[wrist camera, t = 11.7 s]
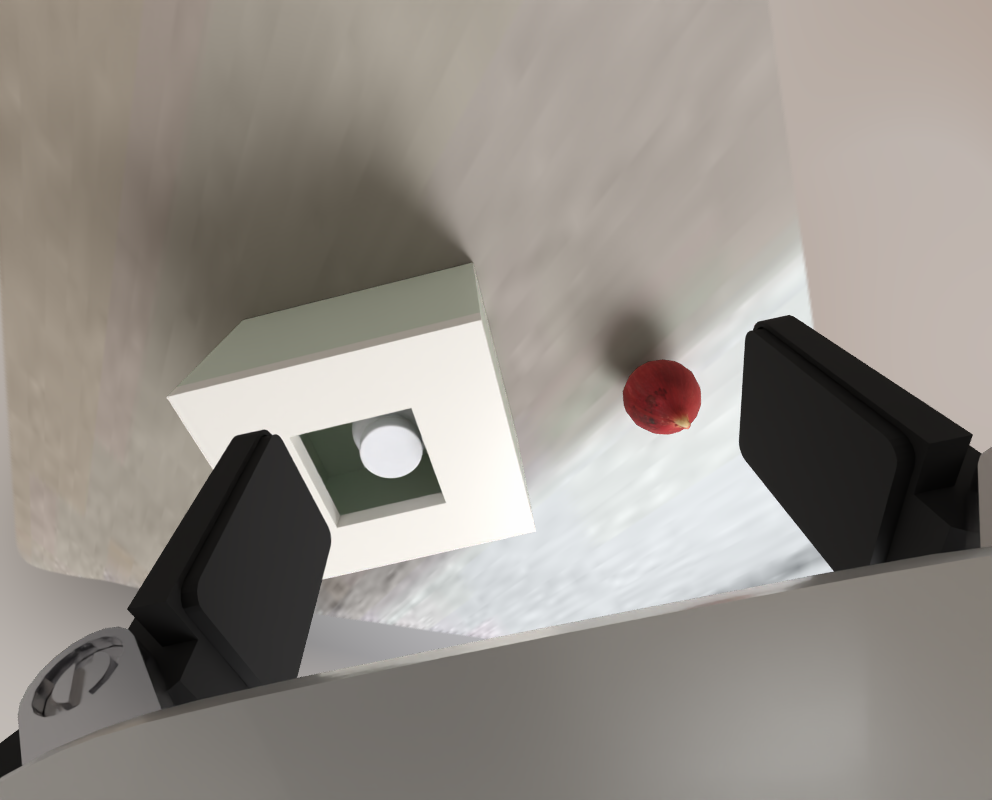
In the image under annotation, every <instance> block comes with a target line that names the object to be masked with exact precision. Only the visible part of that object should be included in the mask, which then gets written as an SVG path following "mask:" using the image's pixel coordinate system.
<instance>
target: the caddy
mask: <svg viewBox="0 0 992 800" xmlns="http://www.w3.org/2000/svg"><path fill="white" fill-rule="evenodd" d="M167 399H168V400H169V402H170V403H171V405H172V406H173V408H174V410H175V411H176V413H177V414H178V416H179V417H180V419H181V420H182V422H183V424H184V425H185V427H186V428H187V430H188V431H189V433H190V434H191V436H192V438H193V439H194V441H195V442H196V444H197V445H198V447H199V448H200V450H201V452H202V453H203V455H204V456H205V458H206V459H207V461H208V463H209V464H210V466H211V467H212V469H214V468H215V466H216V464H217V463H218V461H219V460H220V458H221V456H222V455H223V453H224V452H225V450H226V448H227V447H228V445H229V443H230V442H231V440H232V439H233V438H234V437H235V436H237V435H241V434H245V433H250V432H254V431H259V430H264V429H265V430H268V431H269V432H270V433H271V434H272V435H274V434H277V435H279V436H280V437H281V439H282V440H283V442H284V444H285V446H286V447H287V449H288V451H289V453H290V455H291V457H292V459H293V461H294V463H295V465H296V466H297V468H298V470H299V472H300V474H301V476H302V478H303V480H304V482H305V483H306V485H307V487H308V489H309V491H310V493H311V495H312V497H313V499H314V500H315V502H316V504H317V506H318V508H319V510H320V512H321V514H322V516H323V518H324V519H325V521H326V523H327V525H328V527H329V530H330V533H331V547H330V551H329V555H328V559H327V563H326V567H325V571H324V575H323V578H322V579H327V578H331V577H336V576H340V575H345V574H349V573H354V572H358V571H362V570H367V569H371V568H376V567H380V566H385V565H389V564H394V563H398V562H403V561H407V560H411V559H416V558H420V557H425V556H429V555H434V554H438V553H443V552H447V551H451V550H456V549H460V548H465V547H469V546H474V545H478V544H483V543H487V542H492V541H496V540H500V539H505V538H509V537H514V536H518V535H523V534H527V533H532V532H536V529H535V524H534V519H533V514H532V509H531V504H530V499H529V494H528V489H527V484H526V480H525V475H524V470H523V465H522V460H521V455H520V450H519V445H518V440H517V435H516V431H515V427H514V423H513V419H512V415H511V411H510V407H509V403H508V399H507V395H506V391H505V387H504V383H503V379H502V375H501V372H500V368H499V364H498V360H497V356H496V352H495V348H494V344H493V340H492V336H491V332H490V328H489V324H488V320H487V316H486V312H485V308H484V304H483V300H482V296H481V292H480V288H479V284H478V280H477V276H476V272H475V268H474V264H473V263H469V264H465V265H461V266H457V267H453V268H449V269H445V270H441V271H437V272H433V273H429V274H425V275H421V276H417V277H413V278H409V279H405V280H401V281H397V282H393V283H389V284H385V285H381V286H377V287H373V288H369V289H365V290H361V291H357V292H353V293H349V294H345V295H341V296H337V297H333V298H329V299H325V300H321V301H317V302H313V303H309V304H305V305H301V306H297V307H293V308H289V309H285V310H281V311H277V312H273V313H269V314H265V315H261V316H257V317H254V318H250V319H246V320H243V321H242V322H241V323H240V324H239V325H238V326H237V327H236V328H235V329H234V330H233V331H232V332H231V333H230V334H229V335H228V336H227V337H226V338H225V339H224V340H223V341H222V342H221V343H220V344H219V345H218V346H217V347H216V348H215V349H214V350H213V351H212V352H211V353H210V354H209V355H208V356H207V357H206V358H205V359H204V360H203V361H202V362H201V363H200V364H199V365H198V366H197V367H196V368H195V369H194V370H193V371H192V372H191V373H190V374H189V375H188V376H187V377H186V378H185V379H184V380H183V381H182V382H181V383H180V384H179V385H178V386H177V387H176V388H175V389H174V390H173V391H172V392H171V393H170V394H169V395H168V396H167ZM409 408H412V411H413V414H414V417H415V419H416V422H417V425H418V428H419V430H420V433H421V436H422V438H423V441H424V444H425V449H424V450H423V453H422V458H421V460H420V462H419V464H418V466H417V467H416V468H415V469H414V470H413V471H411V472H410V473H408V474H406V475H404V476H401V477H397V478H384V477H380V476H377V475H375V474H373V473H372V472H370V471H369V470H368V469H367V468H366V467H365V466H364V464H363V463H362V461H361V458H360V450H359V449H358V447H357V446H356V444H355V442H354V439H353V435H352V422H355V421H359V420H363V419H367V418H371V417H376V416H380V415H384V414H388V413H392V412H397V411H401V410H405V409H409Z"/></svg>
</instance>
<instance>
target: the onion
mask: <svg viewBox="0 0 992 800" xmlns="http://www.w3.org/2000/svg"><path fill="white" fill-rule="evenodd" d="M623 401H624V407H625V410H626V412H627V413H628V414H629V416H630V417H631V418H632V420H633V421H634V422H635V423H636V425H638V426H640V427H641V428H643V429H646V430H648V431H650V432H652V433H655V434H672V433H676V432H680V431H681V430H683V429H689V428H690V426H691V423H692V422H693V420H694V419H695V418H696V416H697V414H698V411H699V409H700V406H701V391H700V387H699V385H698V383H697V381H696V379H695V377H694V375H693V373H692V372H691V371H690V370H688V369H687V368H685V367H684V366H683V365H681V364H679V363H677V362H675V361H669V360H656V361H649V362H647V363H645V364H643V365H641V366H639V367H638V368H637V369H636V370H635V371H634V372H633V373H632V374H631V375H630V376H629V378H628V380H627V383H626V385H625V387H624V390H623Z"/></svg>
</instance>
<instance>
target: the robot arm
mask: <svg viewBox="0 0 992 800" xmlns="http://www.w3.org/2000/svg"><path fill="white" fill-rule="evenodd" d="M972 436H973V435H972V434H971V433H970V432H968V431H967V430H965V429H964V428H962V427H960V426H959V425H957V424H956V423H954V422H953V421H951V420H950V419H948V418H947V417H945V416H944V415H942V414H941V413H939V412H938V411H936V410H934V409H933V408H932V407H930V406H929V405H927V404H926V403H924V402H923V401H921V400H920V399H918V398H917V397H915V396H913V395H912V394H910V393H909V392H907V391H906V390H904V389H903V388H901V387H900V386H898V385H897V384H895V383H894V382H892V381H891V380H889V379H888V378H886V377H885V376H883V375H882V374H880V373H879V372H877V371H876V370H874V369H872V368H871V367H869V366H868V365H866V364H865V363H863V362H862V361H860V360H859V359H857V358H856V357H854V356H853V355H851V354H850V353H848V352H846V351H845V350H843V349H842V348H840V347H839V346H838V345H836V344H834V343H833V342H831V341H830V340H828V339H827V338H825V337H824V336H822V335H821V334H819V333H818V332H816V331H815V330H813V329H812V328H810V327H809V326H807V325H806V324H804V323H803V322H801V321H800V320H798V319H797V318H795V317H793V316H791V315H787V316H782V317H778V318H773V319H768V320H764V321H759V322H757V323H756V324H755V326H754V329H753V331H749V332H748V333H747V335H746V338H745V351H744V367H743V384H742V400H741V417H740V433H739V446H740V450H741V453H742V456H743V458H744V459H745V461H746V462H747V463H748V464H749V466H750V467H751V468H752V469H753V471H754V472H755V473H756V474H757V476H758V477H759V478H760V479H761V481H762V482H763V483H764V484H765V486H766V487H767V488H768V489H769V491H770V492H771V493H772V494H773V496H774V497H775V498H776V499H777V501H778V502H779V503H780V504H781V506H782V507H783V508H784V509H785V511H786V512H787V513H788V514H789V516H790V517H791V518H792V519H793V521H794V522H795V523H796V524H797V526H798V527H799V528H800V529H801V531H802V532H803V533H804V534H805V536H806V537H807V538H808V539H809V541H810V542H811V543H812V544H813V546H814V547H815V548H816V549H817V551H818V552H819V553H820V554H821V556H822V557H823V558H824V559H825V561H826V562H827V563H828V564H829V566H830V567H831V568H832V569H833V571H834V572H829V573H824V574H818V575H813V576H808V577H803V578H798V579H792V580H787V581H782V582H777V583H772V584H767V585H761V586H756V587H751V588H746V589H741V590H735V591H730V592H725V593H720V594H715V595H709V596H704V597H699V598H694V599H689V600H684V601H678V602H673V603H668V604H663V605H658V606H652V607H647V608H642V609H637V610H632V611H627V612H622V613H617V614H612V615H607V616H602V617H597V618H592V619H587V620H582V621H577V622H571V623H566V624H561V625H556V626H551V627H546V628H541V629H536V630H531V631H526V632H521V633H516V634H511V635H506V636H501V637H496V638H491V639H486V640H481V641H476V642H472V643H467V644H461V645H457V646H451V647H447V648H442V649H437V650H432V651H427V652H422V653H417V654H412V655H407V656H402V657H397V658H393V659H388V660H383V661H378V662H373V663H368V664H364V665H358V666H354V667H348V668H343V669H339V670H334V671H329V672H324V673H319V674H314V675H309V676H305V677H300V678H297V676H298V672H299V668H300V664H301V659H302V656H303V652H304V648H305V644H306V640H307V637H308V633H309V629H310V625H311V621H312V617H313V613H314V610H315V606H316V602H317V598H318V594H319V590H320V586H321V582H322V578H323V575H324V571H325V567H326V563H327V559H328V555H329V551H330V547H331V533H330V530H329V527H328V525H327V523H326V521H325V519H324V518H323V516H322V514H321V512H320V510H319V508H318V506H317V504H316V502H315V500H314V499H313V497H312V495H311V493H310V491H309V489H308V487H307V485H306V483H305V482H304V480H303V478H302V476H301V474H300V472H299V470H298V468H297V466H296V465H295V463H294V461H293V459H292V457H291V455H290V453H289V451H288V449H287V447H286V446H285V444H284V442H283V440H282V439H281V437H280V436H279V435H277V434H274V435H272V434H271V433H270V432H269V431H268V430H265V429H264V430H259V431H254V432H250V433H245V434H241V435H237V436H235V437H234V438H233V439H232V440H231V442H230V443H229V445H228V447H227V448H226V450H225V452H224V453H223V455H222V456H221V458H220V460H219V461H218V463H217V464H216V466H215V468H214V469H213V471H212V473H211V474H210V476H209V477H208V479H207V481H206V482H205V484H204V486H203V487H202V489H201V490H200V492H199V494H198V495H197V497H196V498H195V500H194V502H193V503H192V505H191V507H190V508H189V510H188V511H187V513H186V515H185V516H184V518H183V519H182V521H181V523H180V524H179V526H178V528H177V529H176V531H175V532H174V534H173V536H172V537H171V539H170V541H169V542H168V544H167V545H166V547H165V549H164V550H163V552H162V553H161V555H160V557H159V558H158V560H157V562H156V563H155V565H154V566H153V568H152V570H151V571H150V573H149V574H148V576H147V578H146V579H145V581H144V583H143V584H142V586H141V587H140V589H139V591H138V592H137V594H136V596H135V597H134V599H133V600H132V602H131V604H130V605H129V607H128V609H127V610H128V611H129V612H130V613H131V614H132V615H133V616H134V617H135V618H134V620H133V622H132V623H131V625H130V627H129V628H128V629H126V628H121V627H112V628H105V629H102V630H99V631H97V632H94V633H91V634H89V635H87V636H85V637H84V638H82V639H80V640H78V641H77V642H75V643H73V644H71V645H70V646H69V647H68V648H66V649H65V650H64V651H62V652H61V653H60V654H58V655H57V656H56V657H55V658H53V660H51V661H50V662H49V663H48V664H47V665H46V666H45V667H44V668H43V669H42V670H41V671H40V672H39V674H38V675H37V676H36V677H35V679H34V680H33V682H32V683H31V684H30V685H29V687H28V688H27V690H26V692H25V694H24V696H23V698H22V700H21V702H20V706H19V712H18V724H19V729H18V730H17V731H16V732H14V733H13V734H12V735H10V736H9V737H8V738H6V739H5V740H4V741H2V742H1V743H0V800H992V447H991V448H989V449H988V450H987V451H985V452H984V453H983V454H981V453H980V452H978V451H977V450H975V449H974V448H973V447H971V446H970V445H969V444H970V441H971V438H972Z"/></svg>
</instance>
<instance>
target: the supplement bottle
mask: <svg viewBox="0 0 992 800" xmlns="http://www.w3.org/2000/svg"><path fill="white" fill-rule="evenodd" d="M352 435H353V439H354V442H355V444H356V446H357V447H358V449H359V450H360V458H361V461H362V463H363V464H364V466H365V467H366V468H367V469H368V470H369V471H370V472H372V473H373V474H375V475H377V476H380V477H384V478H397V477H401V476H404V475H406V474H408V473H410V472H411V471H413V470H414V469H415V468H416V467H417V466H418V464H419V462H420V460H421V458H422V453H423V450H424V449H425V444H424V441H423V438H422V436H421V433H420V430H419V428H418V425H417V422H416V419H415V417H414V414H413V411H412V408H409V409H405V410H401V411H397V412H392V413H388V414H384V415H380V416H376V417H371V418H367V419H363V420H359V421H355V422H352Z"/></svg>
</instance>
